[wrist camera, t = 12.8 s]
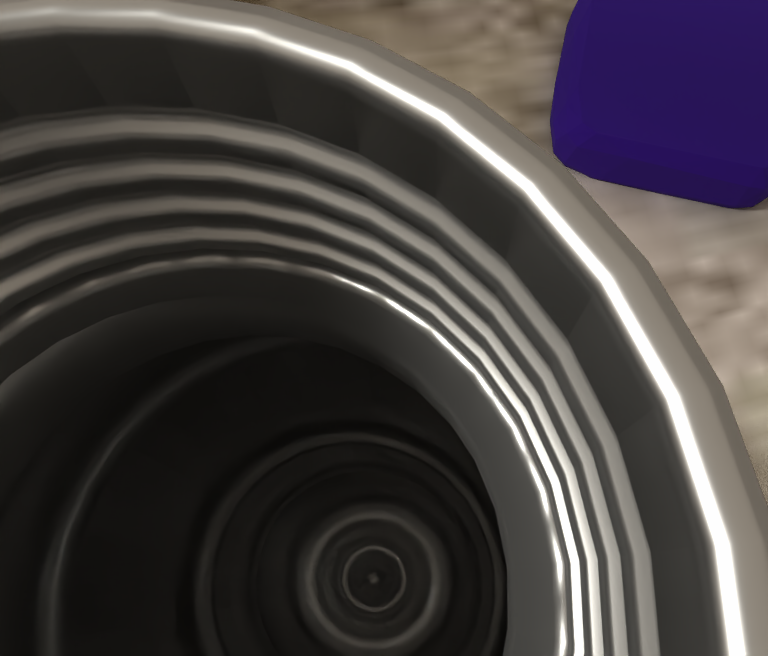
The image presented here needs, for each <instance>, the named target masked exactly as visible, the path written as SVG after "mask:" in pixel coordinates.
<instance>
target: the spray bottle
mask: <svg viewBox="0 0 768 656" xmlns="http://www.w3.org/2000/svg"><path fill="white" fill-rule="evenodd" d="M550 127H551V135H552V144H553V152H554V154H555V155H556V156H557V157H558V159H559V160H560V161H561V162H562V163H563V164H564V165H565V166H566V167H569V168H571V169H573V170H575V171H578V172H580V173H582V174H584V175H586V176H588V177H590V178H594V179H598V180H602V181H607V182H611V183H615V184H620V185H624V186H628V187H633V188H637V189H642V190H646V191H651V192H656V193H660V194H665V195H670V196H674V197H679V198H684V199H688V200H693V201H698V202H703V203H707V204H712V205H717V206H721V207H726V208H745V207H753V206H755V205H756V204H758V203H759V202H761V201H763V200H764V199H766V198H767V197H768V0H578V2H577V4H576V6H575V8H574V10H573V12H572V14H571V17H570V19H569V22H568V24H567V28H566V33H565V38H564V43H563V48H562V53H561V58H560V62H559V67H558V72H557V77H556V82H555V88H554V95H553V102H552V110H551V117H550Z"/></svg>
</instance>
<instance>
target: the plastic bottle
mask: <svg viewBox="0 0 768 656" xmlns="http://www.w3.org/2000/svg"><path fill="white" fill-rule="evenodd" d="M0 656H768V506H767V504H766V501H765V498H764V495H763V493H762V490H761V487H760V485H759V482H758V479H757V476H756V474H755V471H754V468H753V466H752V463H751V460H750V458H749V455H748V452H747V449H746V447H745V444H744V441H743V439H742V436H741V433H740V430H739V428H738V425H737V422H736V420H735V417H734V414H733V412H732V409H731V406H730V403H729V401H728V398H727V395H726V393H725V390H724V387H723V385H722V383H721V382H720V380H719V378H718V377H717V375H716V373H715V372H714V370H713V368H712V367H711V365H710V363H709V362H708V360H707V358H706V357H705V355H704V353H703V352H702V350H701V348H700V347H699V345H698V343H697V342H696V340H695V338H694V337H693V335H692V333H691V332H690V330H689V328H688V327H687V325H686V323H685V322H684V320H683V318H682V317H681V315H680V313H679V312H678V310H677V308H676V307H675V305H674V303H673V302H672V300H671V298H670V297H669V295H668V293H667V292H666V290H665V288H664V287H663V285H662V283H661V282H660V280H659V278H658V277H657V275H656V273H655V272H654V270H653V268H652V267H651V265H650V263H649V262H648V260H647V259H646V258H645V257H644V256H643V255H642V254H641V252H640V251H639V250H638V249H637V248H636V247H635V246H634V245H633V243H632V242H631V241H630V240H629V239H628V238H627V237H626V236H625V234H624V233H623V232H622V231H621V230H620V229H619V228H618V227H617V225H616V224H615V223H614V222H613V221H612V220H611V219H610V218H609V216H608V215H607V214H606V213H605V212H604V211H603V210H602V209H601V207H600V206H599V205H598V204H597V203H596V202H595V201H594V200H593V198H592V197H591V196H590V195H589V194H588V193H587V192H586V191H585V189H584V188H583V187H582V186H581V185H580V184H579V183H578V182H577V180H576V179H575V178H574V177H573V176H572V175H571V174H570V172H569V171H568V170H567V169H566V168H565V167H564V166H563V165H562V164H561V163H560V162H558V161H557V160H556V159H555V158H553V157H552V156H551V155H549V154H548V153H547V152H546V151H544V150H543V149H542V148H541V147H539V146H538V145H537V144H535V143H534V142H533V141H532V140H530V139H529V138H528V137H526V136H525V135H524V134H523V133H521V132H520V131H519V130H517V129H516V128H515V127H514V126H512V125H511V124H510V123H508V122H507V121H506V120H505V119H503V118H502V117H501V116H499V115H498V114H497V113H496V112H494V111H493V110H492V109H490V108H489V107H488V106H487V105H485V104H484V103H483V102H482V101H480V100H479V99H478V98H476V97H475V96H474V95H473V94H471V93H470V92H468V91H466V90H465V89H463V88H461V87H459V86H457V85H455V84H453V83H451V82H449V81H448V80H446V79H444V78H442V77H440V76H438V75H436V74H434V73H432V72H430V71H429V70H427V69H425V68H423V67H421V66H419V65H417V64H415V63H413V62H412V61H410V60H408V59H406V58H404V57H402V56H400V55H398V54H396V53H395V52H393V51H391V50H389V49H387V48H385V47H383V46H381V45H379V44H377V43H376V42H374V41H372V40H369V39H366V38H363V37H360V36H357V35H354V34H351V33H348V32H345V31H342V30H339V29H336V28H333V27H330V26H327V25H324V24H321V23H318V22H315V21H312V20H309V19H306V18H303V17H300V16H297V15H293V14H290V13H287V12H284V11H281V10H278V9H275V8H272V7H269V6H263V5H257V4H251V3H245V2H239V1H233V0H0Z"/></svg>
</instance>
